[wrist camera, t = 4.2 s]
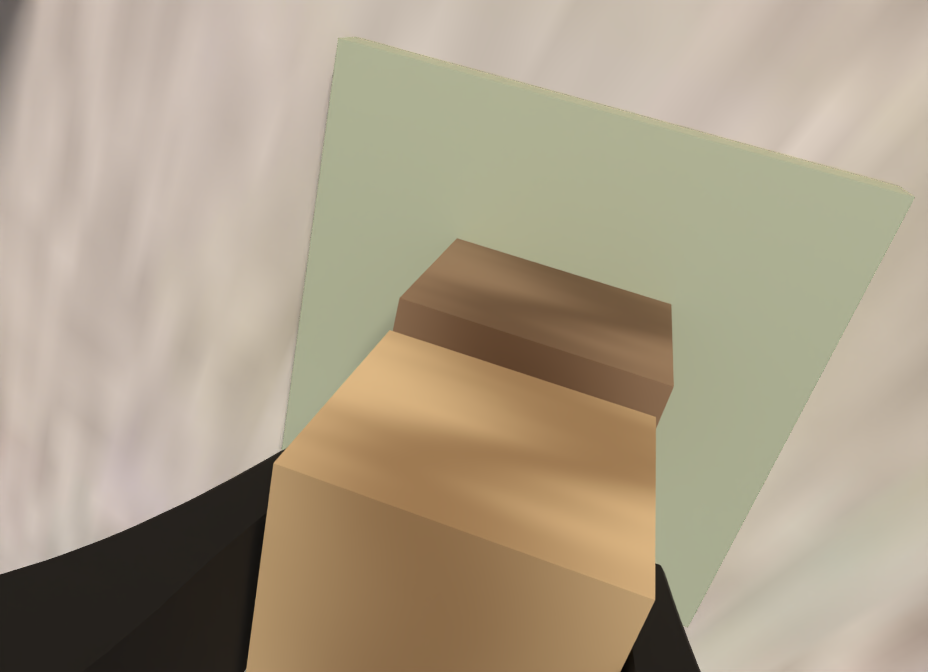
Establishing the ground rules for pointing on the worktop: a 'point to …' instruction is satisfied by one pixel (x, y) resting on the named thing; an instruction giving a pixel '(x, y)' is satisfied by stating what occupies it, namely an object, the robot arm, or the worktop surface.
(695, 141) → the build board
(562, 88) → the worktop surface
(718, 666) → the worktop surface
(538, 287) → the walnut block
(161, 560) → the robot arm
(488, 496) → the oak block
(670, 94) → the worktop surface
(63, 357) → the worktop surface
